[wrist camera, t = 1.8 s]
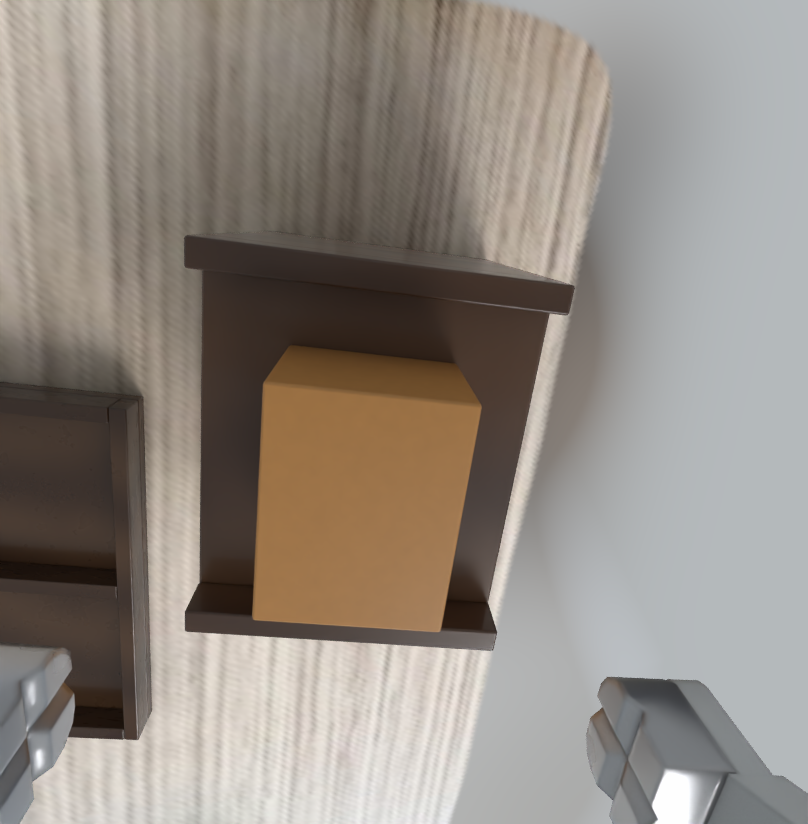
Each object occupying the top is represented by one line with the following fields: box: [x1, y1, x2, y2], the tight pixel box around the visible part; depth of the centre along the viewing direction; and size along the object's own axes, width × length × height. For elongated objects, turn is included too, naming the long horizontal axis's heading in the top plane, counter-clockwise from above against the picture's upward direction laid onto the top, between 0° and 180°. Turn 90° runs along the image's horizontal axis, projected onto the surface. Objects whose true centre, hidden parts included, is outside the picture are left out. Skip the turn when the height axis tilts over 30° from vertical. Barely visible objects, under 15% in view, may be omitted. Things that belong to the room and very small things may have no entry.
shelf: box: [0, 382, 152, 740], centre depth 28 cm, size 20×10×2 cm, turn 173°
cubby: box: [184, 231, 575, 651], centre depth 21 cm, size 12×10×12 cm
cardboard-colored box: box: [252, 345, 482, 632], centre depth 15 cm, size 7×5×4 cm
